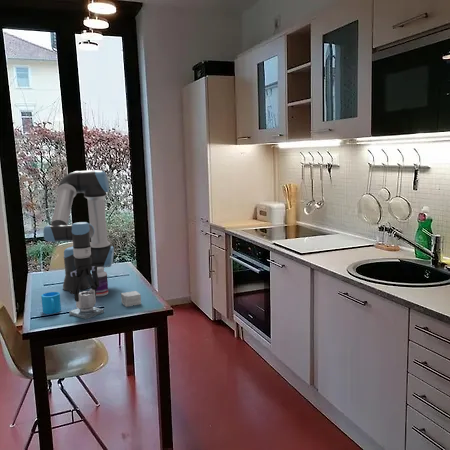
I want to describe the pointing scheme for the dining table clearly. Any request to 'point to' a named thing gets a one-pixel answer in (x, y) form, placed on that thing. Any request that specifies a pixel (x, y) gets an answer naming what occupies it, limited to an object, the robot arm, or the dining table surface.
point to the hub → (87, 299)
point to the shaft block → (86, 312)
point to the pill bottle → (102, 282)
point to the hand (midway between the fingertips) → (86, 305)
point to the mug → (51, 302)
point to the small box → (131, 298)
